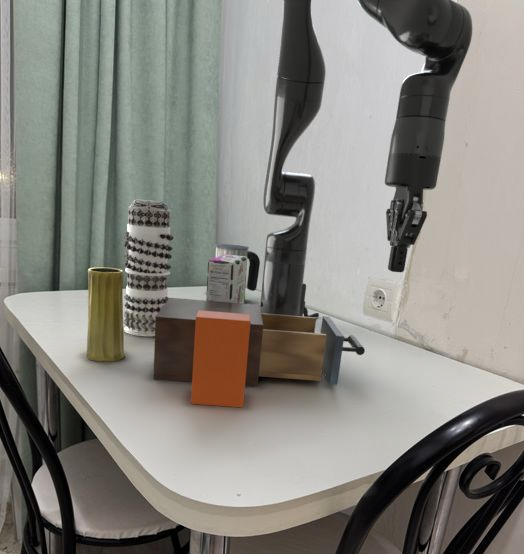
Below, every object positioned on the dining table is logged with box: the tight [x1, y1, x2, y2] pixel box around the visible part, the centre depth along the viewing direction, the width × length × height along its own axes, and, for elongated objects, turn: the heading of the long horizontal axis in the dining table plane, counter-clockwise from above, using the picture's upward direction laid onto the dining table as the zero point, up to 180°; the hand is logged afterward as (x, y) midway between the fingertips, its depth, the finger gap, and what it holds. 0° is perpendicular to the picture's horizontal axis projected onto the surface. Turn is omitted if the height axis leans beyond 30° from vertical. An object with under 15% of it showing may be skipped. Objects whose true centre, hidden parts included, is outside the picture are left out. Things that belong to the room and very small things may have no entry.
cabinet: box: [153, 297, 263, 387], centre depth 81 cm, size 16×15×10 cm
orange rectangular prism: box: [190, 310, 251, 408], centre depth 68 cm, size 7×4×12 cm, turn 92°
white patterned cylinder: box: [123, 199, 174, 337], centre depth 97 cm, size 9×9×25 cm
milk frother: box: [214, 243, 261, 303], centre depth 139 cm, size 14×16×15 cm
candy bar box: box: [205, 255, 248, 304], centre depth 95 cm, size 11×5×16 cm, turn 168°
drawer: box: [259, 313, 366, 386], centre depth 82 cm, size 19×13×8 cm
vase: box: [85, 267, 126, 363], centre depth 81 cm, size 6×6×14 cm
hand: (395, 271), depth 79 cm, fingers closed
